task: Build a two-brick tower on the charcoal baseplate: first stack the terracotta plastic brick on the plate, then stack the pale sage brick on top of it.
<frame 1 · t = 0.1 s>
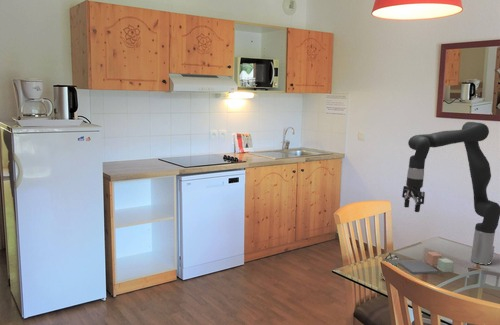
hand: (411, 209, 214), 29 cm above the table, tool pointing down, fingers open, 8 cm apart
sage brick: (444, 270, 217), on the table
terracotta brick: (433, 263, 225), on the table
baseplate: (416, 267, 217), on the table
food container: (390, 277, 204), on the table
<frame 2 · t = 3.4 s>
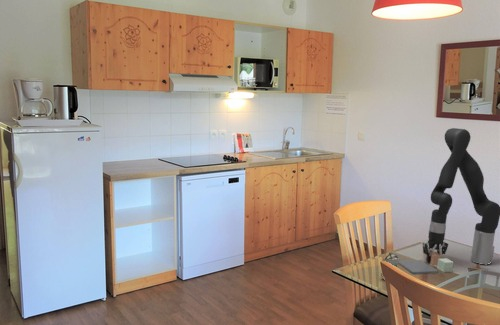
hand: (433, 261, 225), 0 cm above the table, tool pointing down, fingers closed on terracotta brick, 5 cm apart
terracotta brick: (433, 262, 225), on the table, touching gripper
everything else where it was.
when the fingers open (3 cm above the table, at t = 9.7 s): terracotta brick drops 1 cm, resting on baseplate.
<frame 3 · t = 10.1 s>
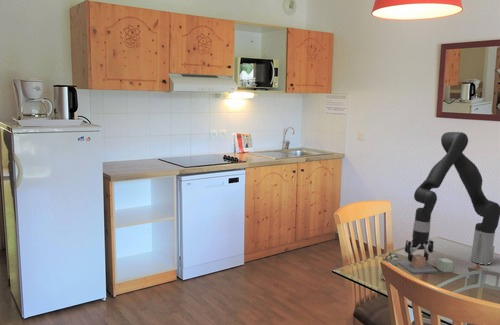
hand: (417, 260, 217), 4 cm above the table, tool pointing down, fingers open, 8 cm apart
terracotta brick: (417, 265, 217), point 1 cm above the table, touching baseplate
everything else where it was.
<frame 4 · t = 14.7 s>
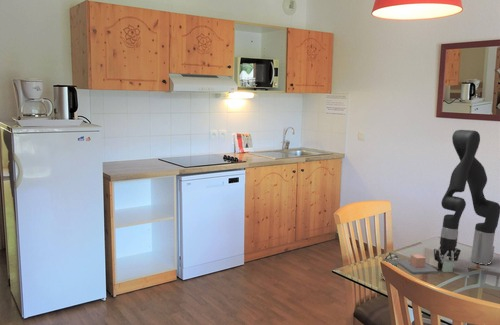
hand: (444, 268, 217), 0 cm above the table, tool pointing down, fingers closed on sage brick, 5 cm apart
sage brick: (444, 269, 217), on the table, touching gripper
everything else where it was.
when the fingers open (8 cm above the table, at t = 20.5 s): sage brick drops 1 cm, resting on terracotta brick.
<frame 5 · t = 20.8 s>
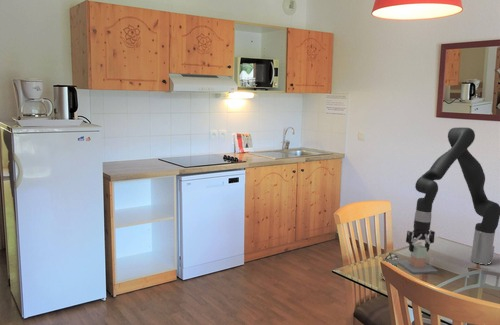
hand: (418, 251, 216), 9 cm above the table, tool pointing down, fingers open, 8 cm apart
sage brick: (418, 256, 216), point 6 cm above the table, touching terracotta brick
terracotta brick: (417, 265, 217), point 1 cm above the table, touching baseplate, sage brick
everything else where it was.
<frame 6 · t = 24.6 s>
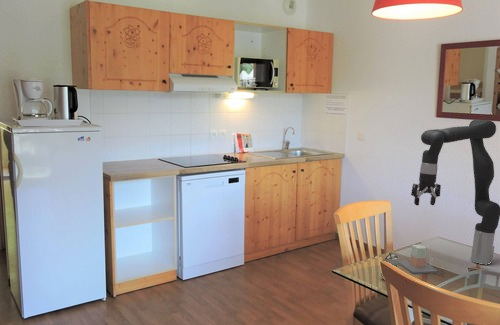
hand: (424, 205, 212), 32 cm above the table, tool pointing down, fingers open, 8 cm apart
nothing on the table moved.
at the end: terracotta brick 0.1 cm off-centre on the baseplate, point 1.0 cm above the baseplate's base; sage brick 0.1 cm off-centre on the terracotta brick, point 5.0 cm above the terracotta brick's base; sage brick tilted 0° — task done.
